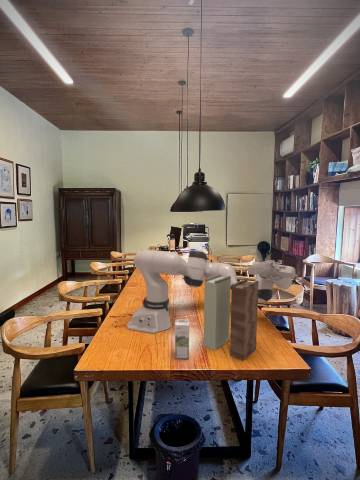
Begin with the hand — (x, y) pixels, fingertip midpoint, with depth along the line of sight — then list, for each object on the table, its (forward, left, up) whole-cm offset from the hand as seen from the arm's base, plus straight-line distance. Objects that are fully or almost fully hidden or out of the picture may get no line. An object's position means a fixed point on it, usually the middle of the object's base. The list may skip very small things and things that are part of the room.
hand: (268, 263), depth 129 cm
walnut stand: (-11, -18, -35) cm, 41 cm away
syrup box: (-36, -25, -35) cm, 57 cm away
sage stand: (-23, -12, -35) cm, 43 cm away
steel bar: (-3, -6, -2) cm, 7 cm away
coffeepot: (-30, +102, -35) cm, 112 cm away
